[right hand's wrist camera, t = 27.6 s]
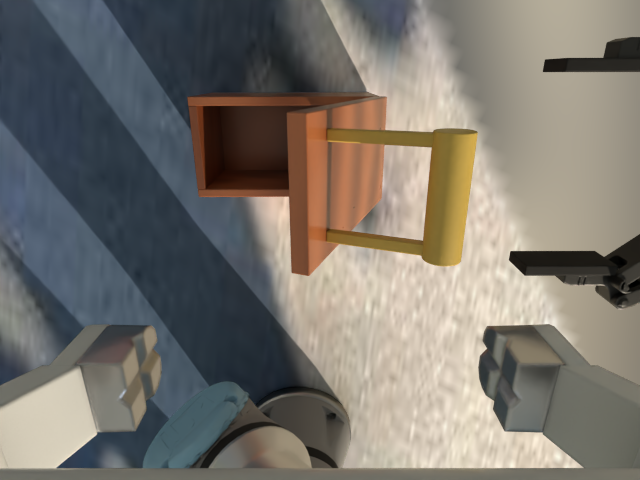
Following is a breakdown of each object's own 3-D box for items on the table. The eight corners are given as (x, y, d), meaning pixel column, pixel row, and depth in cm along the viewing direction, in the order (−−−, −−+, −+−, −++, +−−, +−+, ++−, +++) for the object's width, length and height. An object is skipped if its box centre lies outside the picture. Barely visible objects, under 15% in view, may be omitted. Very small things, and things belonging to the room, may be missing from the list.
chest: (220, 175, 49) (198, 197, 40) (212, 92, 46) (186, 96, 37) (364, 174, 49) (374, 196, 40) (368, 92, 46) (379, 96, 37)
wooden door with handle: (291, 273, 25) (453, 302, 21) (285, 112, 21) (477, 117, 18) (369, 197, 40) (472, 207, 37) (373, 96, 36) (486, 98, 33)
